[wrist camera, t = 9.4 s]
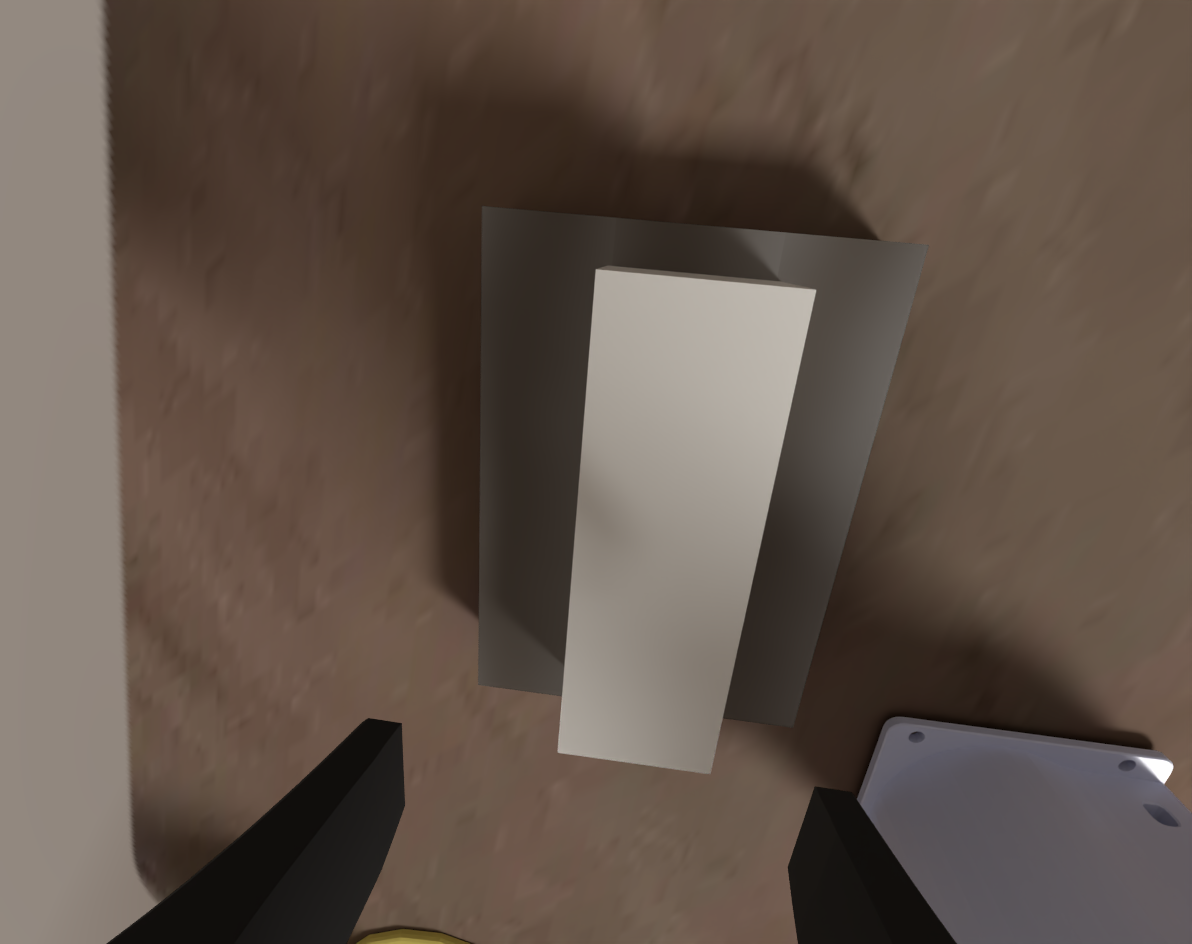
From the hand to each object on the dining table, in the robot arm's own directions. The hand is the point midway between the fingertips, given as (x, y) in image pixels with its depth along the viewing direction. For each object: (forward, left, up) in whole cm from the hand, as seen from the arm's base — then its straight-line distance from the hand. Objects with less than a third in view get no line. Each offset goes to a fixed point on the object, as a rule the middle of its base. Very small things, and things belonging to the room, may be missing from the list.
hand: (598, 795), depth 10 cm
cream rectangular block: (-1, -3, -9) cm, 10 cm away
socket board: (-1, -3, -9) cm, 10 cm away
